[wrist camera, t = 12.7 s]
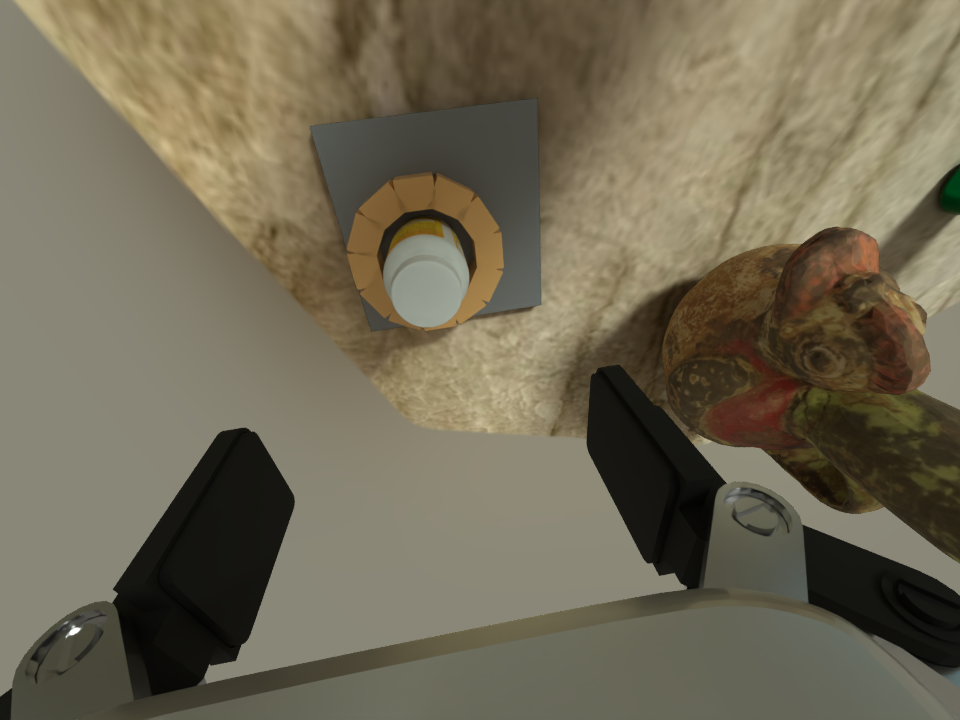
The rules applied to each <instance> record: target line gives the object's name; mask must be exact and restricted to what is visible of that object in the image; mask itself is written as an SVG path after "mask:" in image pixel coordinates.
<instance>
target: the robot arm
mask: <svg viewBox="0 0 960 720" xmlns="http://www.w3.org/2000/svg"><path fill="white" fill-rule="evenodd" d="M587 448H588V452H589V454H590V456H591V458H592V460H593V462H594V464H595V466H596V468H597V470H598V472H599V474H600V475H601V478H602V479H603V481H604V483H605V485H606V487H607V489H608V491H609V493H610V495H611V497H612V499H613V500H614V503H615V505H616V506H617V508H618V510H619V512H620V514H621V516H622V518H623V520H624V522H625V524H626V526H627V528H628V530H629V532H630V534H631V536H632V538H633V540H634V542H635V543H636V545H637V547H638V549H639V551H640V553H641V555H642V557H643V559H644V560H645V561H646V562H647V563H653V565H654V567H655V568H656V571H657V572H658V574H659V576H661V575H666V574H671V573H675V574H676V576H677V578H678V580H679V581H680V583H681V584H683V585H685V586H684V590H681V591H673V592H665V593H658V594H652V595H647V596H641V597H635V598H630V599H624V600H618V601H613V602H608V603H602V604H596V605H590V606H586V607H580V608H575V609H570V610H565V611H560V612H555V613H550V614H545V615H540V616H535V617H530V618H524V619H519V620H514V621H509V622H504V623H499V624H495V625H489V626H484V627H479V628H474V629H469V630H464V631H459V632H455V633H449V634H444V635H440V636H435V637H429V638H424V639H420V640H414V641H410V642H405V643H400V644H395V645H390V646H385V647H381V648H376V649H370V650H365V651H360V652H356V653H350V654H346V655H341V656H337V657H331V658H326V659H321V660H317V661H312V662H307V663H302V664H297V665H293V666H288V667H283V668H278V669H274V670H269V671H264V672H259V673H254V674H249V675H245V676H240V677H235V678H230V679H226V680H221V681H216V682H212V683H208V684H207V683H206V680H205V678H204V676H205V673H206V671H207V668H208V666H209V664H210V665H217V664H222V663H227V662H232V661H236V658H237V656H238V653H239V650H240V647H241V645H242V644H244V643H245V642H246V641H247V640H248V638H249V636H250V634H251V631H252V628H253V625H254V622H255V619H256V616H257V613H258V610H259V607H260V605H261V602H262V599H263V596H264V593H265V590H266V587H267V584H268V581H269V578H270V576H271V573H272V570H273V567H274V564H275V561H276V558H277V555H278V552H279V549H280V546H281V543H282V541H283V538H284V535H285V532H286V529H287V526H288V523H289V520H290V517H291V515H292V512H293V508H294V503H295V500H294V495H293V493H292V492H291V490H290V488H289V486H288V485H287V483H286V481H285V480H284V478H283V476H282V475H281V473H280V471H279V470H278V468H277V466H276V465H275V463H274V461H273V460H272V458H271V456H270V455H269V453H268V451H267V450H266V448H265V446H264V445H263V443H262V441H261V440H260V438H259V436H258V435H257V433H255V432H251V431H250V430H249V429H247V428H239V429H234V430H227V431H222V432H220V433H219V434H218V435H217V436H216V438H215V439H214V441H213V443H212V444H211V445H210V447H209V448H208V450H207V451H206V453H205V454H204V456H203V457H202V459H201V460H200V462H199V463H198V465H197V466H196V467H195V469H194V471H193V472H192V473H191V475H190V476H189V478H188V479H187V481H186V482H185V484H184V485H183V487H182V488H181V490H180V491H179V492H178V494H177V495H176V497H175V498H174V500H173V501H172V503H171V504H170V506H169V507H168V509H167V510H166V512H165V513H164V515H163V516H162V518H161V519H160V521H159V522H158V524H157V525H156V526H155V528H154V529H153V531H152V532H151V534H150V535H149V537H148V538H147V540H146V541H145V543H144V544H143V546H142V547H141V549H140V550H139V552H138V553H137V554H136V556H135V558H134V559H133V560H132V562H131V563H130V565H129V566H128V568H127V569H126V571H125V572H124V574H123V575H122V577H121V578H120V580H119V581H118V582H117V584H116V586H115V587H114V589H113V590H114V591H116V592H117V593H118V595H117V596H116V598H115V600H114V601H113V603H110V602H107V601H101V602H94V603H91V604H89V605H86V606H83V607H81V608H79V609H77V610H75V611H74V612H72V613H70V614H68V615H67V616H65V617H64V618H62V619H61V620H60V621H58V622H57V623H56V624H54V625H53V626H52V627H51V628H50V629H48V630H47V631H46V632H45V633H44V634H43V635H42V636H41V637H40V638H39V639H38V640H37V641H36V642H35V643H34V644H33V646H32V647H31V648H30V649H29V650H28V652H27V653H26V654H25V655H24V657H23V659H22V660H21V662H20V664H19V666H18V667H17V669H16V672H15V675H14V679H13V685H12V688H11V689H10V690H9V691H8V692H6V693H5V694H3V695H2V696H1V697H0V720H960V596H959V595H958V594H957V593H956V592H955V591H954V590H952V589H950V588H949V587H947V586H946V585H944V584H943V583H941V582H940V581H938V580H937V579H934V578H933V577H930V576H928V575H926V574H924V573H922V572H920V571H918V570H915V569H913V568H910V567H908V566H905V565H903V564H900V563H898V562H895V561H893V560H890V559H888V558H885V557H882V556H880V555H877V554H875V553H872V552H870V551H868V550H865V549H862V548H860V547H857V546H855V545H852V544H850V543H847V542H845V541H842V540H840V539H837V538H835V537H832V536H830V535H827V534H825V533H822V532H820V531H817V530H815V529H812V528H809V527H807V526H804V525H802V522H801V519H800V516H799V515H798V513H797V512H796V510H795V509H794V507H793V506H792V505H791V504H790V503H789V502H787V501H786V500H785V499H784V498H783V497H782V496H780V495H778V494H777V493H775V492H774V491H772V490H770V489H768V488H765V487H763V486H760V485H758V484H753V483H749V482H731V483H728V484H727V483H726V482H725V481H724V480H723V479H722V478H721V476H720V475H719V474H718V473H717V472H716V471H715V470H714V468H713V467H712V466H711V465H710V464H709V463H708V461H707V460H706V459H705V458H704V457H703V455H702V454H701V453H700V452H699V451H698V450H697V449H696V447H695V446H694V445H693V444H692V443H691V442H690V440H689V439H688V438H687V437H686V436H685V435H684V433H683V432H682V431H681V430H680V429H679V428H678V426H677V425H676V424H675V423H674V422H673V421H672V420H671V418H670V417H669V416H668V415H667V414H666V413H665V411H664V410H663V409H661V408H660V407H659V406H656V405H655V406H654V405H653V404H652V402H651V401H650V400H649V399H648V398H647V397H646V395H645V394H644V393H643V392H642V391H641V389H640V388H639V387H638V386H637V385H636V383H635V382H634V381H633V380H632V379H631V378H630V376H629V375H628V374H627V373H626V372H625V370H624V369H623V368H622V367H621V366H620V365H613V366H607V367H601V368H598V369H597V372H596V374H592V376H591V382H590V397H589V413H588V428H587Z"/></svg>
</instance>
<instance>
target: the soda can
mask: <svg viewBox="0 0 960 720" xmlns="http://www.w3.org/2000/svg"><path fill="white" fill-rule="evenodd" d="M939 201H940V205H941V207H942V208H943V210H944V211H945V212H946V213H949V214H955V215H960V166H959V167H958V168H957V169H956V170H955V171H954V172H953V173H952V174H951V175H950V176H949V178H948V179H947V180H946V182H945V184H944V185H943V187H942V189H941V192H940V196H939Z"/></svg>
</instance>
